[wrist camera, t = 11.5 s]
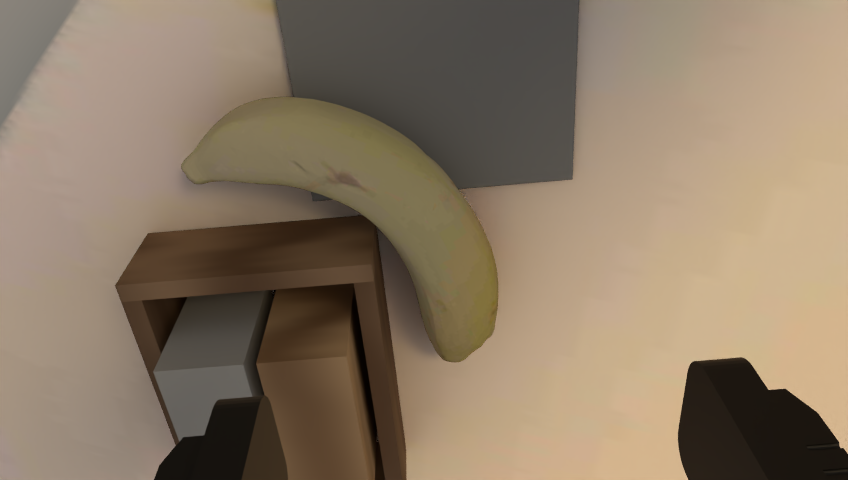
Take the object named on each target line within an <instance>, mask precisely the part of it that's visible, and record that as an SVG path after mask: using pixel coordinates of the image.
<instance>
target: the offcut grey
mask: <svg viewBox="0 0 848 480" xmlns="http://www.w3.org/2000/svg"><path fill="white" fill-rule="evenodd" d="M272 303H273V295H272V291H271V290H263V291H251V292H239V293H227V294H214V295H202V296H190V297H187V299H186V302H185V304H184V306H183V308H182V310H181V312H180V315H179V317H178V319H177V321H176V323H175V325H174V328H173V330H172V332H171V334H170V336H169V338H168V341H167V343H166V345H165V347H164V349H163V351H162V354H161V356H160V358H159V360H158V362H157V365H156V367H155V369H154V371H153V373H154V375H155V378H156V381H157V383H158V386H159V389H160V391H161V394H162V397H163V399H164V402H165V405H166V407H167V410H168V413H169V415H170V418H171V421H172V423H173V426H174V429H175V431H176V434H177V437H178V439H179V442H180V440H181V439H182V438H183V437H190V436H203V435H204V434H205V431H206V428H207V425H208V422H209V418H210V415H211V412H212V409H213V406H214V404H215V403H216V401H217V400H219V399H231V398H243V397H255V396H265V395H264V391H263V387H262V384H261V380H260V376H259V373H258V369H257V365H256V362H257V358H258V355H259V351H260V347H261V344H262V340H263V336H264V333H265V329H266V325H267V322H268V318H269V314H270V310H271V307H272Z"/></svg>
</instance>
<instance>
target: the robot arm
mask: <svg viewBox="0 0 848 480" xmlns="http://www.w3.org/2000/svg"><path fill="white" fill-rule="evenodd" d="M678 444H679V452H680V457H681V461H682V465H683V467H684V470H685V473H686V475H687V477H688V480H848V454H847V452H846V451H845V450H844V448H840V446H839V442H838V440H837V439H836V437H835V436H834V435H833V433H832V432H831V431H830V429H829V428H828V426H827V425H826V424H825V422H824V421H823V420H822V418H821V417H820V416H819V414H818V413H817V412H816V411H814V410H813V409H812V408H810V407H809V406H808V405H806V404H805V403H804V402H802V401H801V400H800V399H798V398H797V397H796V396H794V395H793V394H792V393H790V392H789V391H788V390H786V389H777V390H768V389H767V387H766V386H765V384H764V383H763V381H762V380H761V378H760V377H759V375H758V374H757V372H756V371H755V369H754V368H753V366H752V365H751V364H750V362H749V361H747V360H746V359H745V358H729V359H717V360H705V361H694V362H692V363H691V364H690V366H689V369H688V373H687V379H686V386H685V392H684V398H683V404H682V411H681V417H680V423H679V429H678ZM154 480H288V472H287V465H286V460H285V456H284V452H283V448H282V445H281V441H280V437H279V433H278V429H277V425H276V422H275V418H274V414H273V410H272V406H271V403H270V400H269V398H268V397H267V396H255V397H243V398H231V399H219V400H217V401H216V403H215V404H214V406H213V409H212V412H211V415H210V418H209V422H208V425H207V428H206V431H205V434H204V435H203V436H190V437H183V438H182V439H181V440H180V442H179V443H178V444H177V445H176V446H175V448H174V449H173V450H172V451H171V452H170V453H169V455H168V456H167V457H166V458H165V459H164V461H163V462H162V463H161V464H160V465H159V468H158V471H157V473H156V476H155V479H154Z"/></svg>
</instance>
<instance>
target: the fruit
mask: <svg viewBox="0 0 848 480" xmlns="http://www.w3.org/2000/svg"><path fill="white" fill-rule="evenodd" d="M181 168H182V170H183V172H184V173H185V174H186V176H187V178H188V179H189V180H190V181H191V182H193V183H194V184H204V183H208V182H215V181H235V182H244V183H256V184H277V185H285V186H291V187H296V188H301V189H304V190H308V191H311V192H314V193H318V194H321V195H323V196H326V197H328V198H331V199H333V200H336V201H338V202H340V203H343V204H345V205H347V206H349V207H350V208H352V209H354V210H356V211H357V212H359V213H360V214H362V215H363V216H365V217H366V218H367V219H369V220H370V221H371V222H372V223H373V224H374V225H376V226H377V227H378V228H379V229H380V230H381V232H382V233H383V234H384V235H385V236H386V237H387V238H388V239H389V240H390V242H391V243H392V244H393V246H394V247H395V249H396V250H397V252H398V253H399V255H400V257H401V258H402V260H403V262H404V263H405V265H406V267H407V269H408V272H409V274H410V276H411V278H412V280H413V283H414V286H415V290H416V294H417V299H418V303H419V306H420V311H421V315H422V319H423V323H424V326H425V329H426V332H427V334H428V337H429V339H430V341H431V343H432V344H433V346H434V348H435V350H436V352H437V353H438V354H439V356H440V357H441V358H442V359H443V360H445V361H449V362H460V361H463V360H464V359H466V358H467V357H468V356H469V355H470V354H471V353H472V352H474V351H475V350H476V349H478V348H480V347H481V346H482V345H483V343H484V342H485V340H486V339H487V338H489V337H490V336H491V335H492V333H493V331H494V327H495V320H496V315H497V307H498V278H497V269H496V264H495V260H494V256H493V253H492V249H491V246H490V243H489V241H488V239H487V237H486V234H485V232H484V230H483V228H482V226H481V224H480V222H479V220H478V218H477V217H476V215H475V213H474V212H473V210H472V208H471V207H470V205H469V204H468V202H467V201H466V200H465V198H464V197H463V195H462V194H461V193H460V191H459V190H458V188H457V187H456V186H455V184H454V183H453V181H452V180H451V179H450V178H449V176H448V175H447V174H446V173H445V172H444V170H443V169H442V168H441V167H440V166H439V165H438V164H437V163H436V162H435V161H434V160H433V159H431V158H430V157H429V156H427V155H426V154H425V153H424V152H423V151H422V150H421V149H420V148H419V147H418V146H417V145H416V144H415V143H414V142H412V141H411V140H410V139H408V138H407V137H405V136H404V135H402V134H401V133H399V132H398V131H396V130H395V129H393V128H391V127H389V126H388V125H386V124H384V123H382V122H380V121H378V120H376V119H374V118H372V117H370V116H368V115H365V114H363V113H360V112H358V111H355V110H352V109H349V108H346V107H343V106H340V105H337V104H333V103H329V102H324V101H320V100H315V99H307V98H296V97H274V98H265V99H261V100H256V101H253V102H249V103H246V104H244V105H242V106H239V107H237V108H236V109H234V110H232V111H231V112H229V113H228V114H227V115H225V116H224V117H223V118H222V119H221V120H220V121H218V122H217V123H216V124H215V125H214V126H213V127H212V128H211V129H210V130H209V131H208V133H207V134H206V135H205V136H204V138H203V139H202V140H201V142H200V143H199V144H198V146H197V147H196V148H195V150H194V151H193V152H192V153H191V154H190V155H189V156H188V157H187V158H186V159H185V160H184V161H183V163H182V164H181Z"/></svg>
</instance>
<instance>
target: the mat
mask: <svg viewBox="0 0 848 480" xmlns="http://www.w3.org/2000/svg"><path fill="white" fill-rule="evenodd" d="M276 4H277V9H278V14H279V20H280V25H281V31H282V36H283V42H284V47H285V53H286V58H287V63H288V69H289V74H290V80H291V85H292V91H293V96H294V97H296V98H307V99H315V100H320V101H324V102H329V103H333V104H337V105H340V106H343V107H346V108H349V109H352V110H355V111H358V112H360V113H363V114H365V115H368V116H370V117H372V118H374V119H376V120H378V121H380V122H382V123H384V124H386V125H388V126H389V127H391V128H393V129H395V130H396V131H398V132H399V133H401V134H402V135H404V136H405V137H407V138H408V139H410V140H411V141H412V142H414V143H415V144H416V145H417V146H418V147H419V148H420V149H421V150H422V151H423V152H424V153H425V154H426V155H427V156H429V157H430V158H431V159H433V160H434V161H435V162H436V163H437V164H438V165H439V166H440V167H441V168H442V169H443V170H444V172H445V173H446V174H447V175H448V176H449V178H450V179H451V180H452V181H453V183H454V184H455V186H456V187H457V188H458V189H464V188H476V187H488V186H500V185H512V184H523V183H535V182H547V181H559V180H571V179H572V178H573V151H574V124H575V97H576V70H577V43H578V16H579V0H276ZM311 194H312V199H313V201H322V200H333V199H331V198H328V197H326V196H323V195H321V194H318V193H314V192H311Z"/></svg>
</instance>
